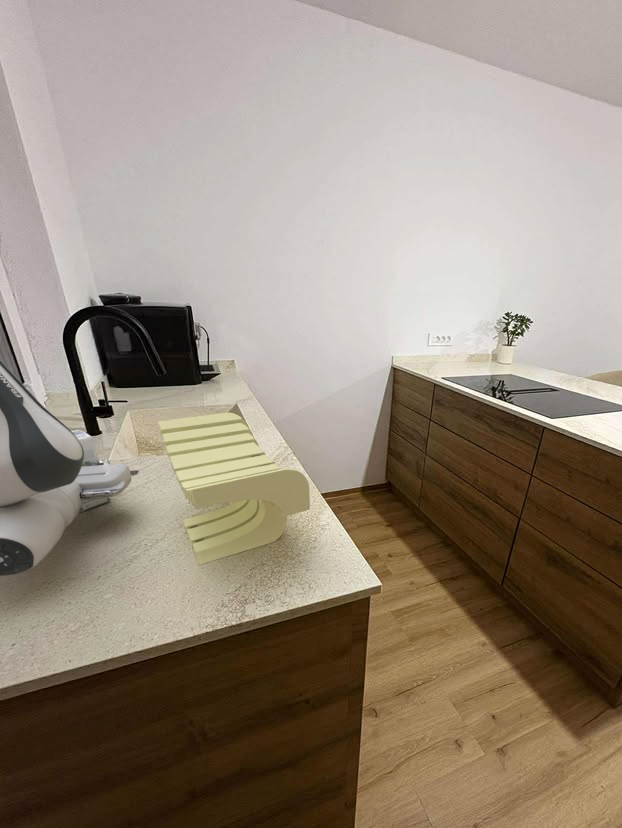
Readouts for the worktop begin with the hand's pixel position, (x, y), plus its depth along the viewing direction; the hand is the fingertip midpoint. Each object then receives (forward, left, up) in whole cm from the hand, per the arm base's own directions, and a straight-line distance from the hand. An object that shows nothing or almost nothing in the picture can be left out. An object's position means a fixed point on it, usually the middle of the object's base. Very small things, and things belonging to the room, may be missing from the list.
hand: (79, 465), depth 75 cm
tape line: (0, +13, -8) cm, 15 cm away
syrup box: (0, -1, -8) cm, 8 cm away
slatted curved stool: (+28, -17, -8) cm, 34 cm away
